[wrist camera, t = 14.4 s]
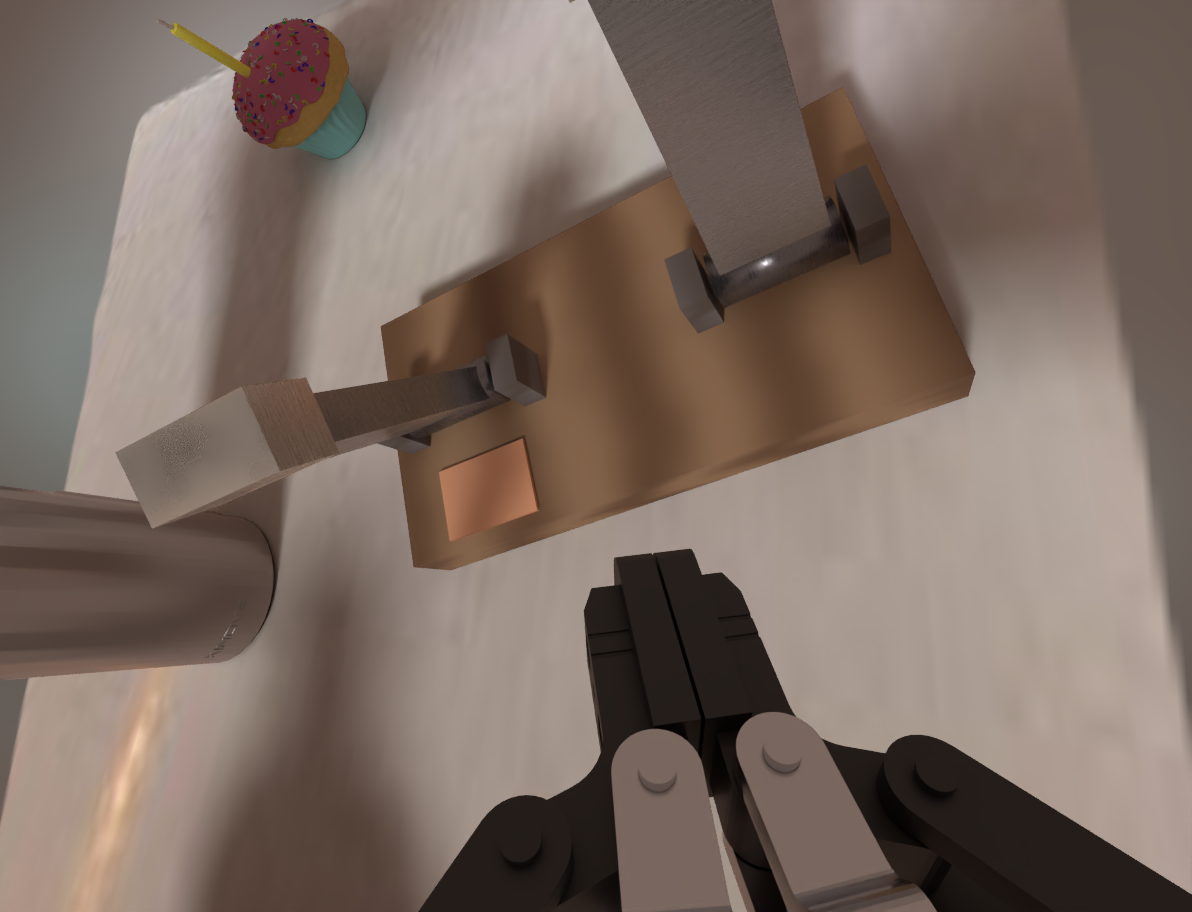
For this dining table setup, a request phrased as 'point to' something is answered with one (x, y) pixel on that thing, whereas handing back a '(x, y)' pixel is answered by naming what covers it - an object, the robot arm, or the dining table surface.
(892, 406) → the switch base
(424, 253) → the dining table surface
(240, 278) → the dining table surface
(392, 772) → the dining table surface
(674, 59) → the outer lever
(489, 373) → the inner lever
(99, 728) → the dining table surface
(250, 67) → the cupcake
